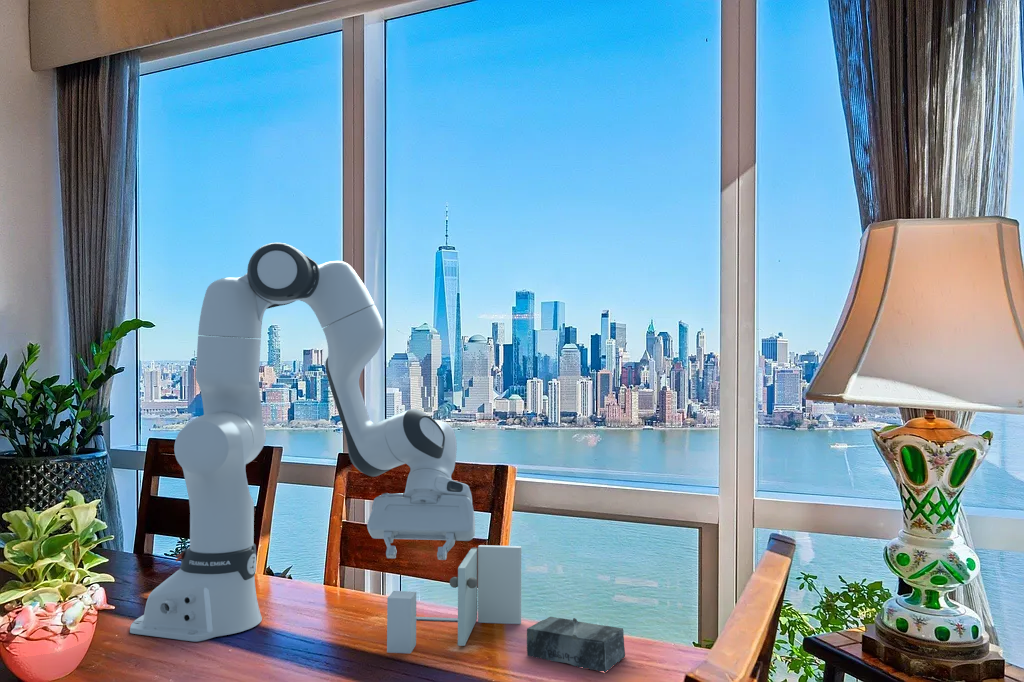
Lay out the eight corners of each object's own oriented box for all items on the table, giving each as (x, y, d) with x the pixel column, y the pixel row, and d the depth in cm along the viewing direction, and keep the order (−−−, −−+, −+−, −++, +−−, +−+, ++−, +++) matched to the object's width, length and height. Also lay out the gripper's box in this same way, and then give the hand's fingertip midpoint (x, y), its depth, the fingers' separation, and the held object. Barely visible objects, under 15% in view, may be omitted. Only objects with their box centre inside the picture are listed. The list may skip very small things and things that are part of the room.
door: (475, 646, 130) (475, 568, 130) (447, 645, 130) (447, 567, 131) (487, 617, 144) (487, 548, 145) (461, 617, 145) (462, 547, 145)
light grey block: (386, 652, 129) (387, 597, 129) (393, 643, 132) (393, 590, 133) (410, 653, 128) (410, 598, 128) (416, 644, 132) (416, 591, 132)
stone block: (552, 641, 135) (552, 610, 135) (628, 658, 127) (629, 626, 127) (526, 656, 127) (526, 624, 128) (605, 676, 120) (605, 641, 120)
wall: (398, 619, 145) (399, 544, 145) (400, 617, 146) (400, 542, 147) (520, 624, 143) (520, 547, 143) (521, 621, 144) (521, 546, 144)
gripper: (372, 483, 149) (356, 546, 139) (476, 485, 147) (468, 549, 137) (378, 502, 154) (363, 565, 144) (480, 504, 152) (472, 568, 142)
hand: (415, 557), depth 140 cm, fingers open, 8 cm apart
